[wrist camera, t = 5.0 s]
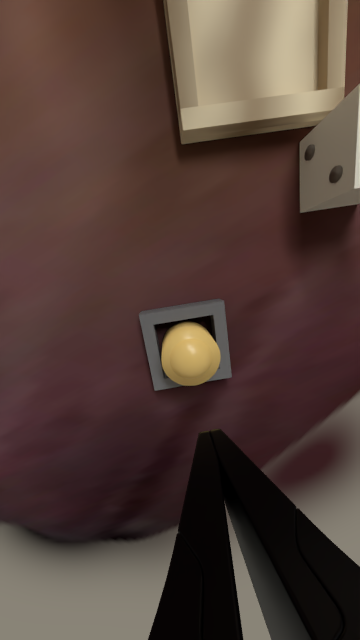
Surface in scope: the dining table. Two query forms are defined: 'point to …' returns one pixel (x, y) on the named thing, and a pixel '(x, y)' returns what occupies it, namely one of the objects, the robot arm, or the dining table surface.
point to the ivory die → (332, 159)
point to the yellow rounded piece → (189, 354)
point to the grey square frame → (181, 313)
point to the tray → (255, 64)
